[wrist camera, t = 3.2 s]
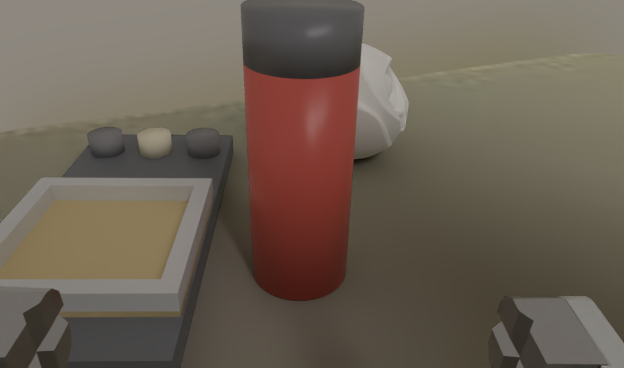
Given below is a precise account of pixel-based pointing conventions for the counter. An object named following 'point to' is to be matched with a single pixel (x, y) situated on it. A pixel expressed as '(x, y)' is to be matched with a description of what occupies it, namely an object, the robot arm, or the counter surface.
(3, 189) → the counter surface
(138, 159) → the control panel
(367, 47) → the white swirled ball
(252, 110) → the red cylinder with cap
